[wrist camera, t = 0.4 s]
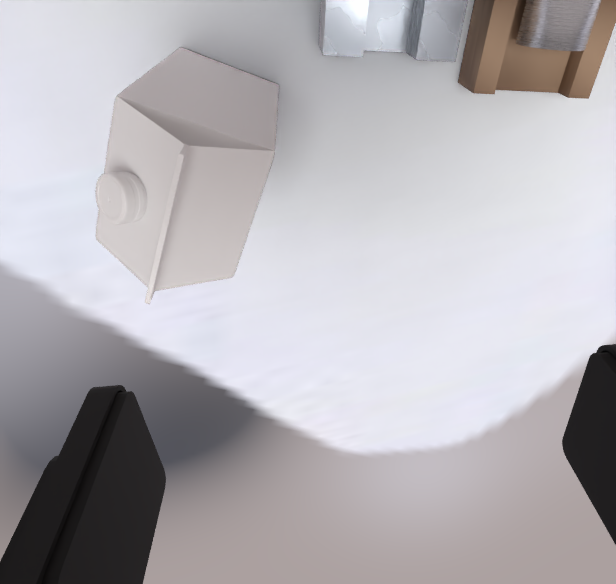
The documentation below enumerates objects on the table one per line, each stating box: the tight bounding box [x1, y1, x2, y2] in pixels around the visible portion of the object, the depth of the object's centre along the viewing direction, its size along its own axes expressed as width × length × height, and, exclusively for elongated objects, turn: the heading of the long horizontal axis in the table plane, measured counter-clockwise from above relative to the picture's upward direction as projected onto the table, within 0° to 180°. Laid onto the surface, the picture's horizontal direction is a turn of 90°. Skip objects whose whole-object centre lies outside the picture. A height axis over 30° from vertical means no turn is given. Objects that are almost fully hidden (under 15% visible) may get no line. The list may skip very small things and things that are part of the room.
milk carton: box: [96, 47, 279, 304], centre depth 27 cm, size 7×7×19 cm
